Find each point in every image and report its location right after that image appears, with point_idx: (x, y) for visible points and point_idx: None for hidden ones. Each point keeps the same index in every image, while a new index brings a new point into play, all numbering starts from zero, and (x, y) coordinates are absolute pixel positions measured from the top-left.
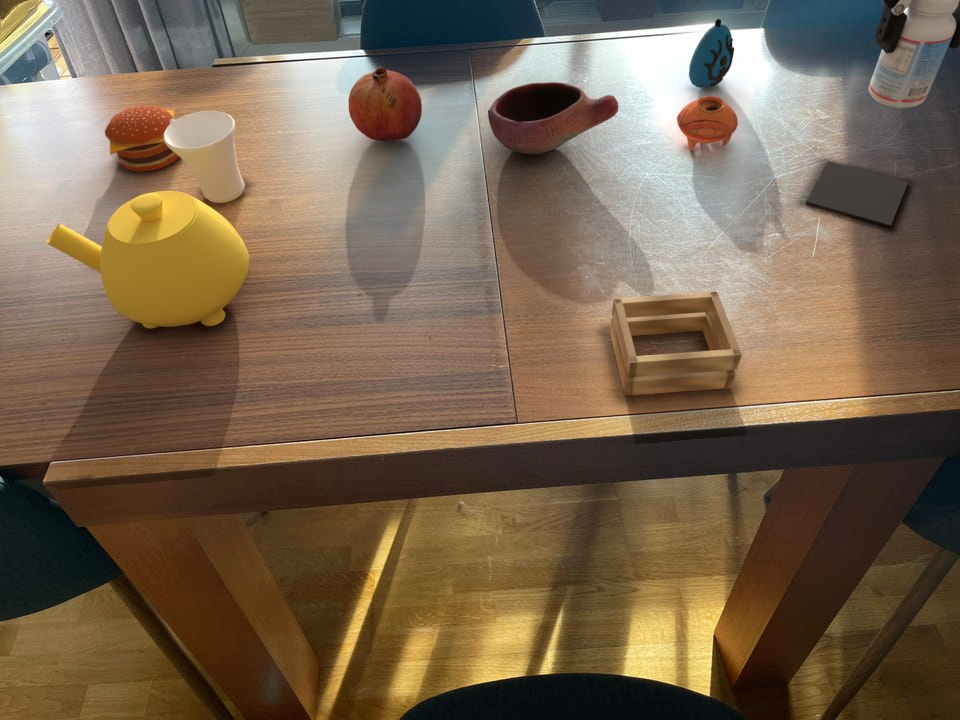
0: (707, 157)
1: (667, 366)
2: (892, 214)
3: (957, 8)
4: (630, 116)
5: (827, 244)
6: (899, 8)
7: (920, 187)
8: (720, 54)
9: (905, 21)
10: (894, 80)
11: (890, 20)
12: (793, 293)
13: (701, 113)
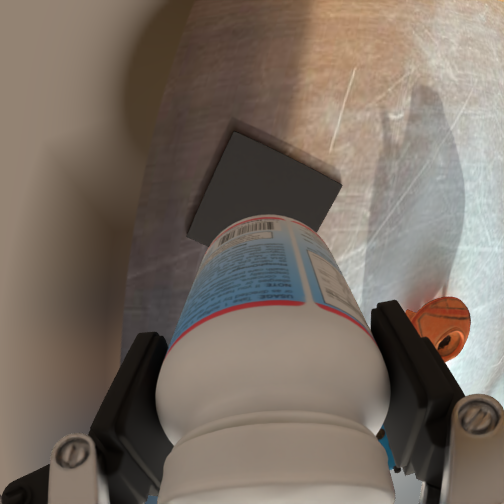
0: (432, 286)
1: None
2: (225, 157)
3: (152, 459)
4: (472, 352)
5: (330, 92)
6: (473, 422)
7: (171, 228)
8: (387, 438)
9: (416, 383)
10: (323, 251)
11: (452, 388)
12: (386, 10)
13: (462, 329)
